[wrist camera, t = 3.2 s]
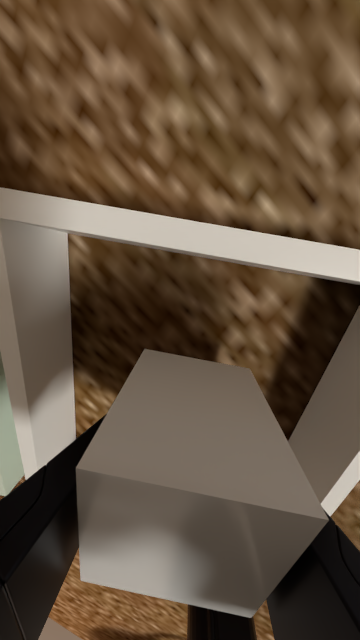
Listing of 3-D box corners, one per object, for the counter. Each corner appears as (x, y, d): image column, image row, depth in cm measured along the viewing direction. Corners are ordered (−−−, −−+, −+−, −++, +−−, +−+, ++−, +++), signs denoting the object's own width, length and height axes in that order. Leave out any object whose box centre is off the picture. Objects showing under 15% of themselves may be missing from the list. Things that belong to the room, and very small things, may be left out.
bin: (274, 491, 13) (297, 557, 10) (66, 448, 13) (29, 501, 10) (397, 271, 8) (520, 277, 5) (49, 210, 8) (-33, 181, 5)
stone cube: (223, 443, 10) (250, 618, 5) (135, 426, 10) (80, 580, 5) (249, 368, 8) (328, 520, 3) (144, 348, 8) (75, 467, 3)
